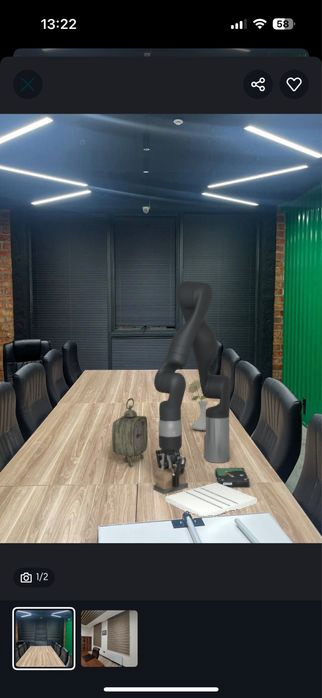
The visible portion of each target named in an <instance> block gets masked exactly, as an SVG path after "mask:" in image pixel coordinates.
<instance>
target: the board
mask: <svg viewBox="0 0 322 698" xmlns="http://www.w3.org/2000/svg"><path fill="white" fill-rule="evenodd" d="M164 501H165V502H166V503H168V504H170V505H171V506H173V507H176V508H177V509H180V510H182V511H184V512H186V511H190V512H192V513H195V514H198V515H199V516H207V515H213V516H214V515H217V514H221V513H223V512H225V511H229V510H235V511H237V510H236V509H238V510H240V509H243V508H247V507H251V506H253V505H257V504H258V498H256V497H255V496H252V495H249V494H246V493H244V492H241V491H239V490H237V489H235V488H229V487H227V486H224V485H222V484H219V483H218V482H214V483H210V484H207V485H202V486H199V487H195V488H191V489H188V490H185V491H181V492H177V493H173V494H170V495H166V496H165V498H164Z"/></svg>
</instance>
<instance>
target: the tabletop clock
mask: <svg viewBox="0 0 322 698" xmlns="http://www.w3.org/2000/svg"><path fill="white" fill-rule="evenodd" d="M130 401H132V405H128V403H129V402H130ZM134 406H135V399H134V398H132V397H130V398H128V399H127V400H126V404H125V407H126V409H127V410H125V412H124V413H123V416H121V417H119V418H118V419H116V420H114V421H113V422H112V425H111V428H112V429H111V439H112V440H111V441H112V443H111V445H112V446H111V447H112V452H113V453H114V454H115V455H118V456H123V457H124V456H125V457H124V458H123V459H122V460H123V462H124V463H126V462H129V463H128V466H129V467H131V468H132V467H133V466H134V462H132V457H134V458H135V457H139V459H140V460H143V459H144V458H145V455H143V454H144V453H145V451H146V450H147V448H148V432H149V431H148V417H147V416H144V415H137V412H136V411H135V410H134V409H133V408H134Z"/></svg>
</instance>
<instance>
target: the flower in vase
mask: <svg viewBox="0 0 322 698" xmlns="http://www.w3.org/2000/svg"><path fill="white" fill-rule="evenodd" d="M187 389H188V393H191V394H194V393H196V392H197V395H194V396H193V397H192V398H191V400H192V401H197V400H198V399H200V400H199V401H197V403H198V405H199V409H200V416H199V417H198V418H197V419H195V421H194V422H193V423H192V424H191V428H192V429H193V430H195V431H196V430H197V431H202V430H203V431H206V406H207V404H208V403H209V401H205V399H206V398H205V397H204V396H203V395H202V396H200V393H199V389H201V385H200V379H196V380H195V379H194V380H193V381H192V382H191V383H190V384H189V386H188V388H187Z"/></svg>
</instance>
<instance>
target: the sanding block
mask: <svg viewBox="0 0 322 698" xmlns="http://www.w3.org/2000/svg"><path fill="white" fill-rule="evenodd" d="M180 471H181V469H180ZM175 472H176V468H175ZM154 473H155V484H153V491H155V492H158V493H159V494H162V495H166V494H171V493H174V492H177V491H181V490H184V489H188V488H189V483H188V482H187V481H186V480H187V479H186V477H187V476H186V475H187V474H186V473H187V470H186V469H184V474H182V475H179V486H178V487H173V486H172V476H173V475H172V471H171V469H170V467H169V469H165V470H161V469H160V470H157V471H155V472H154Z"/></svg>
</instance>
